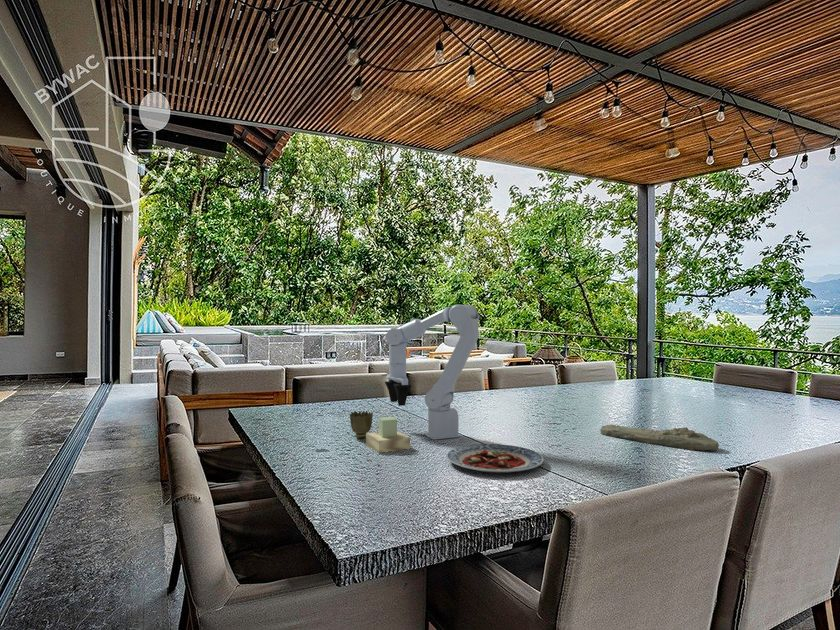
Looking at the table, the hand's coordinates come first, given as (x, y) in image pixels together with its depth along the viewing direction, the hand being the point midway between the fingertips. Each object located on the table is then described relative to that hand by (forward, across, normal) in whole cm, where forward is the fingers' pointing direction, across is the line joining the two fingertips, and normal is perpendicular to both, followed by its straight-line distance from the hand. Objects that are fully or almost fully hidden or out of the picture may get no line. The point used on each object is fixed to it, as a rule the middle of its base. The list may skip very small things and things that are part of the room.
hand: (397, 403), depth 179 cm
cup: (+10, +4, -14) cm, 17 cm away
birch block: (+10, +18, -10) cm, 23 cm away
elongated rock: (+10, +44, +70) cm, 83 cm away
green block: (+6, +18, -10) cm, 22 cm away
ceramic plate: (+10, +45, +11) cm, 47 cm away
